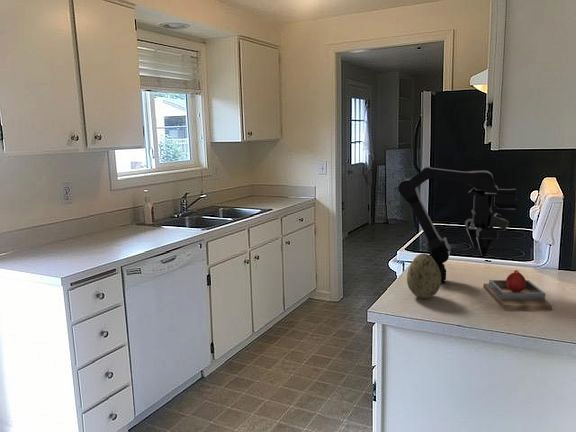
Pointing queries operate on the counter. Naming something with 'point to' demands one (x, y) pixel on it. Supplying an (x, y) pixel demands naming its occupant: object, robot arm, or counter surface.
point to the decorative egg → (424, 276)
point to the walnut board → (518, 304)
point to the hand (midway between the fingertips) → (479, 252)
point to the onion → (516, 282)
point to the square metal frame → (517, 296)
